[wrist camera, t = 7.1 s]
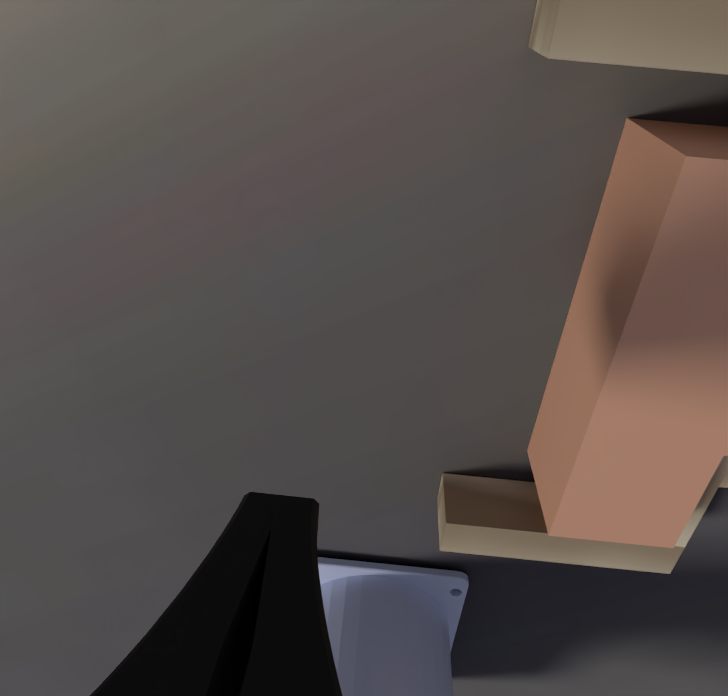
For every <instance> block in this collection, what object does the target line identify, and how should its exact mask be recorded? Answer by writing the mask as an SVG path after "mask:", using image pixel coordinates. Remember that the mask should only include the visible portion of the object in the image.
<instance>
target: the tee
mask: <svg viewBox="0 0 728 696" xmlns="http://www.w3.org/2000/svg"><path fill="white" fill-rule="evenodd" d="M527 452H528V456H529V460H530V464H531V468H532V472H533V476H534V480H535V484H536V488H537V492H538V496H539V500H540V504H541V508H542V512H543V515H544V519H545V523H546V527H547V531H548V535H549V536H556V537H566V538H576V539H586V540H596V541H606V542H616V543H626V544H636V545H646V546H656V547H666V548H674V546H675V545H676V543H677V541H678V539H679V537H680V535H681V533H682V532H683V530H684V528H685V526H686V524H687V522H688V521H689V519H690V517H691V515H692V513H693V511H694V510H695V508H696V506H697V504H698V502H699V500H700V498H701V497H702V495H703V493H704V491H705V489H706V487H707V486H708V484H709V482H710V480H711V478H712V476H713V475H714V473H715V471H716V469H717V467H718V465H719V463H720V462H721V460H722V458H723V456H728V127H721V126H710V125H699V124H688V123H677V122H666V121H655V120H644V119H633V118H627V119H626V122H625V126H624V129H623V132H622V136H621V139H620V143H619V146H618V149H617V153H616V156H615V159H614V163H613V166H612V169H611V173H610V176H609V179H608V183H607V186H606V189H605V193H604V196H603V199H602V203H601V206H600V209H599V213H598V216H597V219H596V223H595V226H594V229H593V233H592V236H591V239H590V243H589V246H588V249H587V253H586V256H585V260H584V263H583V266H582V270H581V273H580V276H579V280H578V283H577V286H576V290H575V293H574V296H573V300H572V303H571V306H570V310H569V313H568V316H567V320H566V323H565V326H564V330H563V333H562V336H561V340H560V343H559V346H558V350H557V353H556V356H555V360H554V363H553V366H552V370H551V373H550V376H549V380H548V383H547V387H546V390H545V393H544V397H543V400H542V403H541V407H540V410H539V413H538V417H537V420H536V423H535V427H534V430H533V433H532V437H531V440H530V443H529V447H528V450H527Z"/></svg>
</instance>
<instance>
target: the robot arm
mask: <svg viewBox="0 0 728 696" xmlns="http://www.w3.org/2000/svg"><path fill="white" fill-rule="evenodd" d="M318 515H319V503H318V502H317V501H316V500H315V499H312V498H302V497H293V496H284V495H274V494H265V493H256V492H249V493H248V494H246V495H245V496H244V497H243V499H242V501H241V503H240V505H239V507H238V508H237V510H236V512H235V513H234V515H233V517H232V518H231V520H230V522H229V523H228V525H227V526H226V528H225V529H224V531H223V533H222V534H221V536H220V537H219V539H218V540H217V542H216V543H215V545H214V546H213V548H212V549H211V551H210V552H209V553H208V555H207V556H206V558H205V559H204V560H203V562H202V563H201V564H200V566H199V567H198V569H197V570H196V571H195V573H194V574H193V575H192V577H191V578H190V580H189V581H188V582H187V584H186V585H185V586H184V588H183V589H182V590H181V592H180V593H179V594H178V595H177V597H176V598H175V599H174V600H173V602H172V603H171V604H170V605H169V607H168V608H167V609H166V610H165V612H164V613H163V614H162V615H161V616H160V618H159V619H158V620H157V621H156V623H155V624H154V625H153V626H152V628H151V629H150V630H149V631H148V632H147V634H146V635H145V636H144V637H143V638H142V639H141V641H140V642H139V643H138V644H137V645H136V646H135V648H134V649H133V650H132V651H131V652H130V653H129V654H128V655H127V657H126V658H125V659H124V660H123V661H122V662H121V663H120V664H119V665H118V666H117V667H116V669H115V670H114V671H113V672H112V673H111V674H110V675H109V676H108V677H107V678H106V679H105V680H104V682H103V683H102V684H101V685H100V686H99V687H98V688H97V689H96V690H95V691H94V692H93V693H92V694H91V695H90V696H453V688H452V672H451V656H450V652H451V649H452V645H453V641H454V638H455V634H456V630H457V627H458V623H459V619H460V616H461V612H462V608H463V605H464V601H465V597H466V594H467V590H468V586H469V582H468V576H467V575H466V574H465V573H463V572H460V571H452V570H442V569H432V568H422V567H412V566H403V565H393V564H383V563H373V562H363V561H353V560H344V559H334V558H324V557H318V555H317V531H318Z"/></svg>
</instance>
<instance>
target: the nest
mask: <svg viewBox="0 0 728 696" xmlns="http://www.w3.org/2000/svg"><path fill="white" fill-rule="evenodd" d="M528 47H529V48H531V49H533V50H534V51H536V52H538V53H539V54H541V55H543V56H544V57H546V58H548V59H559V60H571V61H582V62H593V63H604V64H616V65H627V66H638V67H649V68H660V69H672V70H683V71H694V72H705V73H716V74H728V0H537V5H536V10H535V15H534V20H533V25H532V30H531V35H530V40H529V45H528ZM718 487H724V488H728V456H723V458H722V460H721V462H720V463H719V465H718V467H717V469H716V471H715V473H714V475H713V476H712V478H711V480H710V482H709V484H708V486H707V487H706V489H705V491H704V493H703V495H702V497H701V498H700V500H699V502H698V504H697V506H696V508H695V510H694V511H693V513H692V515H691V517H690V519H689V521H688V522H687V524H686V526H685V528H684V530H683V532H682V533H681V535H680V537H679V539H678V541H677V543H676V545H675V546H674V548H666V547H656V546H646V545H636V544H626V543H616V542H606V541H596V540H586V539H576V538H566V537H556V536H549V535H548V531H547V527H546V523H545V519H544V515H543V512H542V508H541V504H540V500H539V496H538V492H537V488H536V484H535V482H527V481H516V480H506V479H496V478H486V477H476V476H466V475H456V474H446V473H442V478H441V483H440V488H439V493H438V498H437V506H438V524H439V542H440V551H448V552H458V553H468V554H478V555H487V556H497V557H507V558H517V559H527V560H537V561H547V562H557V563H566V564H576V565H586V566H596V567H606V568H616V569H626V570H636V571H646V572H655V573H665V574H670V573H671V571H672V570H673V568H674V566H675V564H676V562H677V561H678V559H679V557H680V555H681V553H682V552H683V550H684V548H685V546H686V545H687V543H688V541H689V539H690V537H691V536H692V534H693V532H694V530H695V528H696V527H697V525H698V523H699V521H700V520H701V518H702V516H703V514H704V512H705V511H706V509H707V507H708V505H709V503H710V502H711V500H712V498H713V496H714V494H715V493H716V491H717V489H718Z"/></svg>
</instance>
